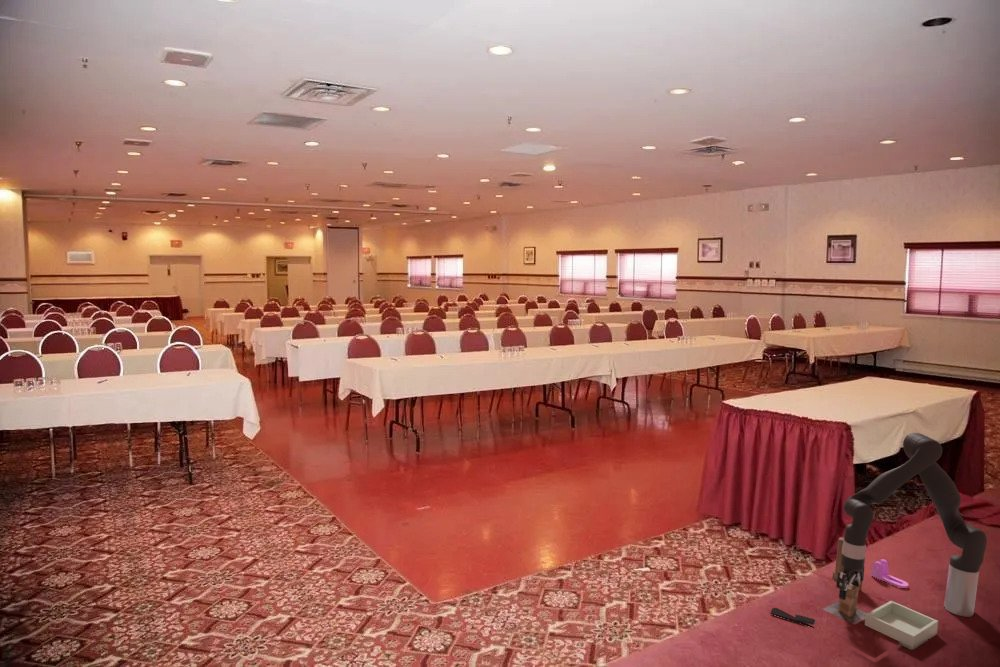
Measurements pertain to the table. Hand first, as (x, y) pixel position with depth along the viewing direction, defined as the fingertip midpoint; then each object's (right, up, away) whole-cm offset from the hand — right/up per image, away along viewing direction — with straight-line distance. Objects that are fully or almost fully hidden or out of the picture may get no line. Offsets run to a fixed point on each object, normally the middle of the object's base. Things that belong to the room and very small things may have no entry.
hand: (848, 595), depth 249 cm
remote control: (-22, -8, -3) cm, 23 cm away
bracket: (+31, -5, +28) cm, 42 cm away
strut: (0, -6, +1) cm, 6 cm away
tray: (+14, -9, -9) cm, 19 cm away
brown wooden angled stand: (+11, -5, +23) cm, 26 cm away
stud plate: (0, -7, +1) cm, 7 cm away
